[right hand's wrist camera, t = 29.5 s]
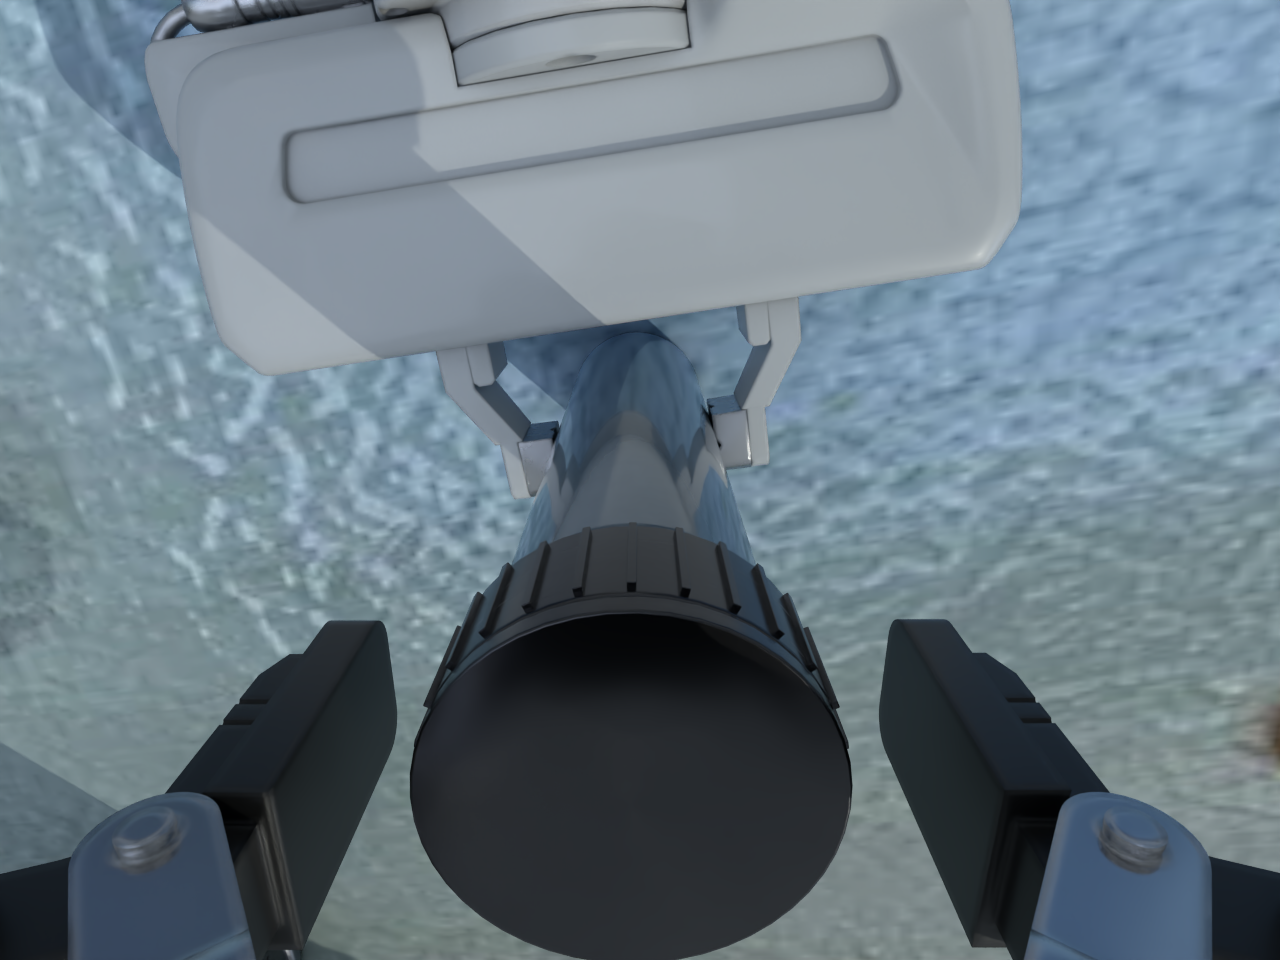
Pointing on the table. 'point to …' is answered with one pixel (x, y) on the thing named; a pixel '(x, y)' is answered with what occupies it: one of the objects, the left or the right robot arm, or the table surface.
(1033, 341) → the table surface
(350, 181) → the left robot arm
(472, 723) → the lid
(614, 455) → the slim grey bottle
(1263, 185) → the table surface
